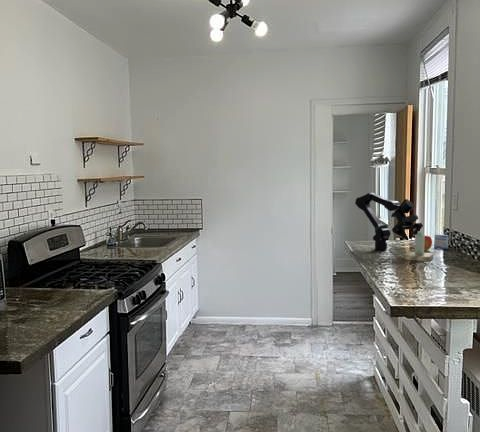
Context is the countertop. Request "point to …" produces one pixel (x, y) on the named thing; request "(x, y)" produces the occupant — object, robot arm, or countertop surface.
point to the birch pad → (419, 256)
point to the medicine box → (441, 241)
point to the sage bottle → (419, 243)
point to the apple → (427, 243)
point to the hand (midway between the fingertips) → (414, 239)
